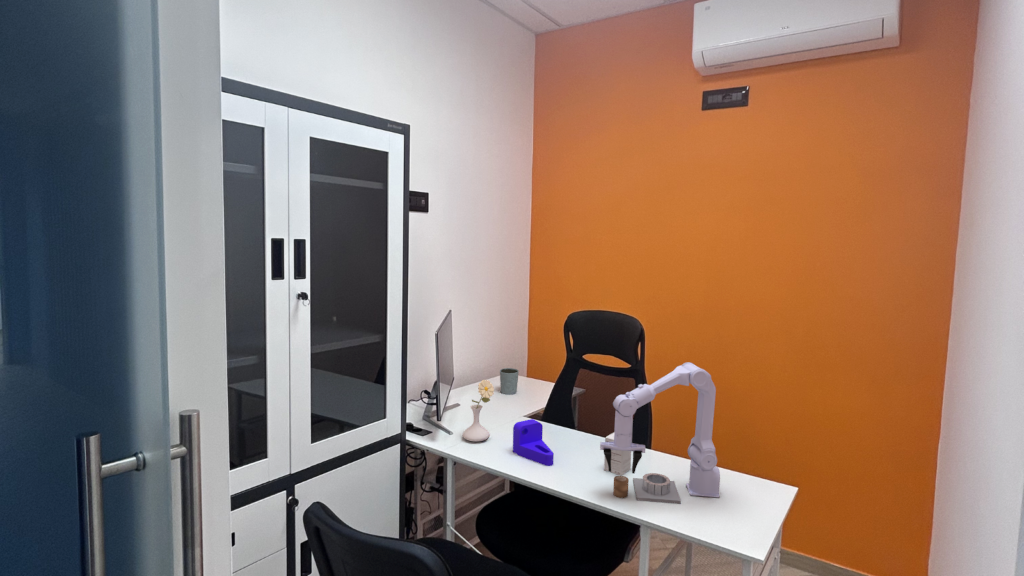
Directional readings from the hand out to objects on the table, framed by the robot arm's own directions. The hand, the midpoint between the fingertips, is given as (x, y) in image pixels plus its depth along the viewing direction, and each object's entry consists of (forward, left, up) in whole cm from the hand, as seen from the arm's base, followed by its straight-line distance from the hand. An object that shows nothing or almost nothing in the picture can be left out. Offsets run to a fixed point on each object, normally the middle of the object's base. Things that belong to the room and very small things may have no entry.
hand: (621, 471), depth 182 cm
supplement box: (0, -19, -8) cm, 21 cm away
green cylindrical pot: (+52, -104, -8) cm, 117 cm away
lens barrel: (-12, -4, -8) cm, 15 cm away
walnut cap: (0, 0, -8) cm, 8 cm away
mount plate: (-12, -4, -8) cm, 15 cm away
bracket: (+30, -25, -8) cm, 40 cm away
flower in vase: (+56, -39, -8) cm, 69 cm away
